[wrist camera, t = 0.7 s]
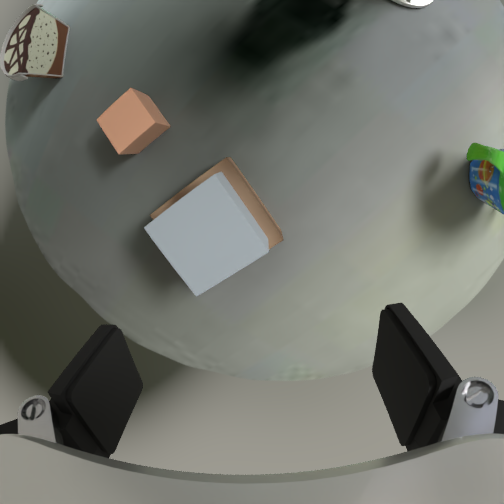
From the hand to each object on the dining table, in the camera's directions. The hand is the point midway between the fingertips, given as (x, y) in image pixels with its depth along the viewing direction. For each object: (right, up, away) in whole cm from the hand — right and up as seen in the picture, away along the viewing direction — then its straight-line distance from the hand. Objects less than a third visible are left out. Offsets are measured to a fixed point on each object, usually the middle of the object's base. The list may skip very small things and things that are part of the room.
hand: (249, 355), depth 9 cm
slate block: (-4, +6, +23) cm, 24 cm away
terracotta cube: (-14, +20, +23) cm, 33 cm away
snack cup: (+35, +15, +22) cm, 44 cm away
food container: (-31, +34, +19) cm, 50 cm away
